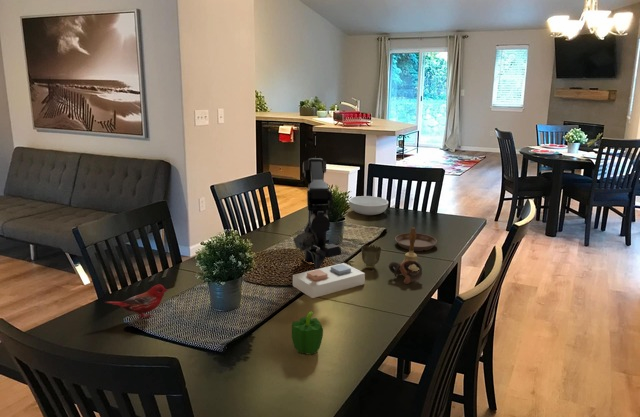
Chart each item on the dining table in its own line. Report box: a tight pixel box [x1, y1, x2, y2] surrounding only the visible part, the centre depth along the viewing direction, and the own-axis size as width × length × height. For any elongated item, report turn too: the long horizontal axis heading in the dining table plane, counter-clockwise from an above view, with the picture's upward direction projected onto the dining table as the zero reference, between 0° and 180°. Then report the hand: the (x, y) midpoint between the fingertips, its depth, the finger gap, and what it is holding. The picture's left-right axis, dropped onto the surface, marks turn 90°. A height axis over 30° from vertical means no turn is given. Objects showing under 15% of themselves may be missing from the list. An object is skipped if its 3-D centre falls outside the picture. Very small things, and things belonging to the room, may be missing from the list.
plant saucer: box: [394, 232, 438, 252], centre depth 220 cm, size 18×18×3 cm
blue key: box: [331, 263, 351, 276], centre depth 178 cm, size 5×5×3 cm
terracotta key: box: [306, 269, 328, 282], centre depth 173 cm, size 5×5×3 cm
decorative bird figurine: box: [104, 283, 169, 319], centre depth 149 cm, size 3×18×10 cm, turn 107°
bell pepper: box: [291, 311, 324, 355], centre depth 133 cm, size 8×8×10 cm
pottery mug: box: [388, 260, 423, 285], centre depth 182 cm, size 12×10×8 cm
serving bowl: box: [348, 195, 389, 216], centre depth 270 cm, size 21×21×7 cm
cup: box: [360, 244, 382, 270], centre depth 192 cm, size 8×7×8 cm
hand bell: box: [402, 227, 419, 272], centre depth 192 cm, size 8×8×16 cm
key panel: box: [292, 262, 366, 299], centre depth 176 cm, size 12×22×4 cm, turn 125°
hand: (317, 268), depth 172 cm, fingers closed
